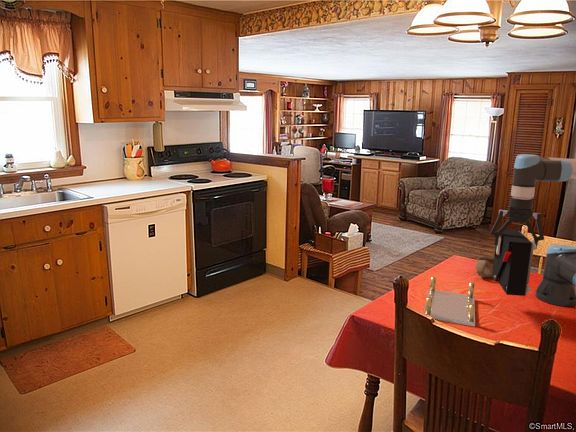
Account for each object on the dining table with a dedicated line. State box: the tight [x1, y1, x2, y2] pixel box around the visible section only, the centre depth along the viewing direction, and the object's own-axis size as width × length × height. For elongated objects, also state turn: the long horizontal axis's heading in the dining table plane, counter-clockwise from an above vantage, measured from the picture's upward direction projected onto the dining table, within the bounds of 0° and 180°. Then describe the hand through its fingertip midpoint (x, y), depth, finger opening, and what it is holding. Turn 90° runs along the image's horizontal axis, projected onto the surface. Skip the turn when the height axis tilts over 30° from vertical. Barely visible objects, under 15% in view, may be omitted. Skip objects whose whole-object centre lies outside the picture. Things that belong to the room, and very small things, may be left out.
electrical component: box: [491, 228, 538, 297], centre depth 169 cm, size 18×10×20 cm, turn 168°
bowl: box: [475, 255, 494, 278], centre depth 211 cm, size 18×14×10 cm
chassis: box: [423, 276, 476, 327], centre depth 176 cm, size 18×26×8 cm
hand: (513, 255), depth 168 cm, fingers closed on electrical component, 10 cm apart
